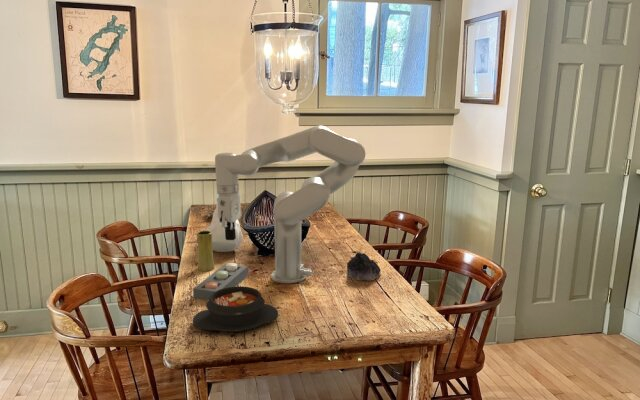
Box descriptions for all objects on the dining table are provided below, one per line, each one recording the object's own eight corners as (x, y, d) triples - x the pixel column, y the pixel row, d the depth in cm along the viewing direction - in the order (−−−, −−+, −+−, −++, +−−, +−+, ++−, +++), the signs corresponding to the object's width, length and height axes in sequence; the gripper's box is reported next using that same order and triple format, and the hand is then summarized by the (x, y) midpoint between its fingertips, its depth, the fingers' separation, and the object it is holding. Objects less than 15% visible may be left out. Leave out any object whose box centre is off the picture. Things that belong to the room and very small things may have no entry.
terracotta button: (219, 289, 169) (219, 282, 168) (214, 294, 165) (214, 287, 165) (209, 288, 170) (208, 281, 169) (203, 293, 166) (202, 285, 166)
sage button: (229, 278, 176) (229, 271, 176) (224, 282, 173) (224, 275, 172) (219, 277, 177) (219, 270, 177) (214, 281, 174) (213, 274, 173)
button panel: (248, 275, 186) (247, 266, 185) (218, 301, 163) (218, 291, 162) (225, 272, 188) (225, 263, 187) (193, 298, 165) (193, 288, 165)
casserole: (193, 342, 138) (192, 314, 136) (192, 313, 155) (190, 287, 153) (284, 331, 144) (283, 304, 142) (272, 304, 162) (272, 279, 160)
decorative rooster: (243, 244, 200) (249, 188, 211) (203, 239, 196) (210, 182, 207) (235, 263, 222) (241, 211, 232) (199, 258, 218) (206, 206, 229)
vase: (210, 272, 189) (208, 235, 185) (195, 270, 190) (193, 234, 186) (216, 266, 194) (215, 230, 191) (202, 265, 196) (200, 229, 192)
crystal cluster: (372, 268, 195) (370, 243, 193) (388, 278, 182) (386, 251, 180) (340, 275, 191) (337, 250, 189) (354, 285, 178) (352, 258, 176)
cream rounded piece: (239, 270, 184) (239, 263, 183) (234, 274, 180) (234, 267, 179) (229, 269, 185) (228, 262, 184) (224, 273, 181) (224, 266, 180)
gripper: (229, 193, 167) (232, 246, 171) (245, 184, 181) (248, 233, 185) (208, 193, 169) (211, 245, 173) (226, 184, 183) (229, 232, 187)
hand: (230, 239), depth 179 cm, fingers closed
